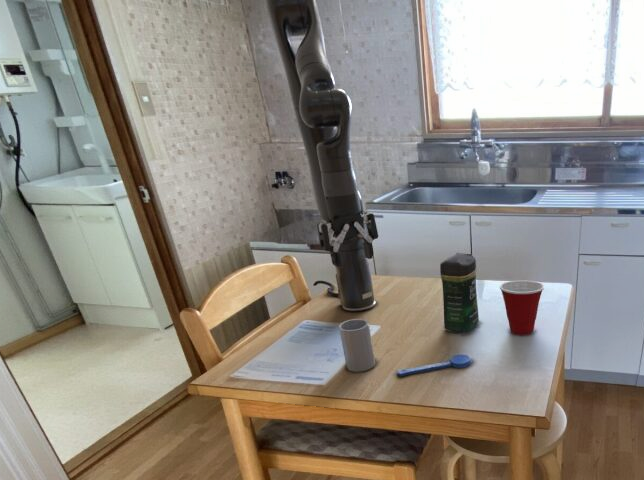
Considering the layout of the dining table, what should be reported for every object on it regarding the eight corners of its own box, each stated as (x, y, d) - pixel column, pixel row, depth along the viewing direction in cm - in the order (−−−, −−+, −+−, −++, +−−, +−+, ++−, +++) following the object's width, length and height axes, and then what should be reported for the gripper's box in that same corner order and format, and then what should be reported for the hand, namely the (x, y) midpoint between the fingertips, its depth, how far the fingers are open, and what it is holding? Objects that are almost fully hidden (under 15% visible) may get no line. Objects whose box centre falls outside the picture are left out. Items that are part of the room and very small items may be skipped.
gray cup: (341, 366, 118) (332, 326, 113) (363, 356, 122) (356, 316, 117) (358, 374, 114) (350, 333, 109) (381, 363, 118) (374, 323, 113)
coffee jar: (469, 336, 128) (464, 263, 119) (440, 332, 131) (433, 260, 122) (483, 321, 136) (480, 251, 127) (456, 318, 139) (450, 249, 129)
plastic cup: (548, 323, 133) (549, 278, 127) (538, 341, 124) (538, 293, 118) (507, 320, 136) (506, 275, 130) (495, 337, 127) (493, 290, 121)
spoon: (399, 379, 111) (398, 375, 110) (396, 370, 115) (395, 366, 114) (473, 365, 115) (473, 361, 114) (467, 357, 119) (467, 352, 118)
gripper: (359, 185, 122) (370, 253, 130) (304, 195, 114) (319, 267, 122) (377, 187, 118) (387, 258, 126) (320, 198, 109) (335, 273, 117)
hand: (354, 262), depth 124 cm, fingers open, 8 cm apart
